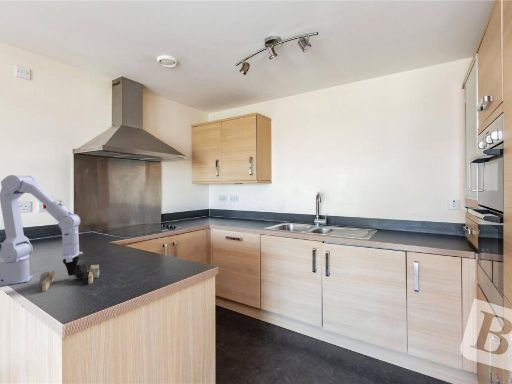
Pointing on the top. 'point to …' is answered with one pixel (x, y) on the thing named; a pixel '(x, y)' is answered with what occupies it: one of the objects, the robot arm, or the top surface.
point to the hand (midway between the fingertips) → (72, 274)
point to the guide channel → (48, 278)
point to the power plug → (82, 271)
